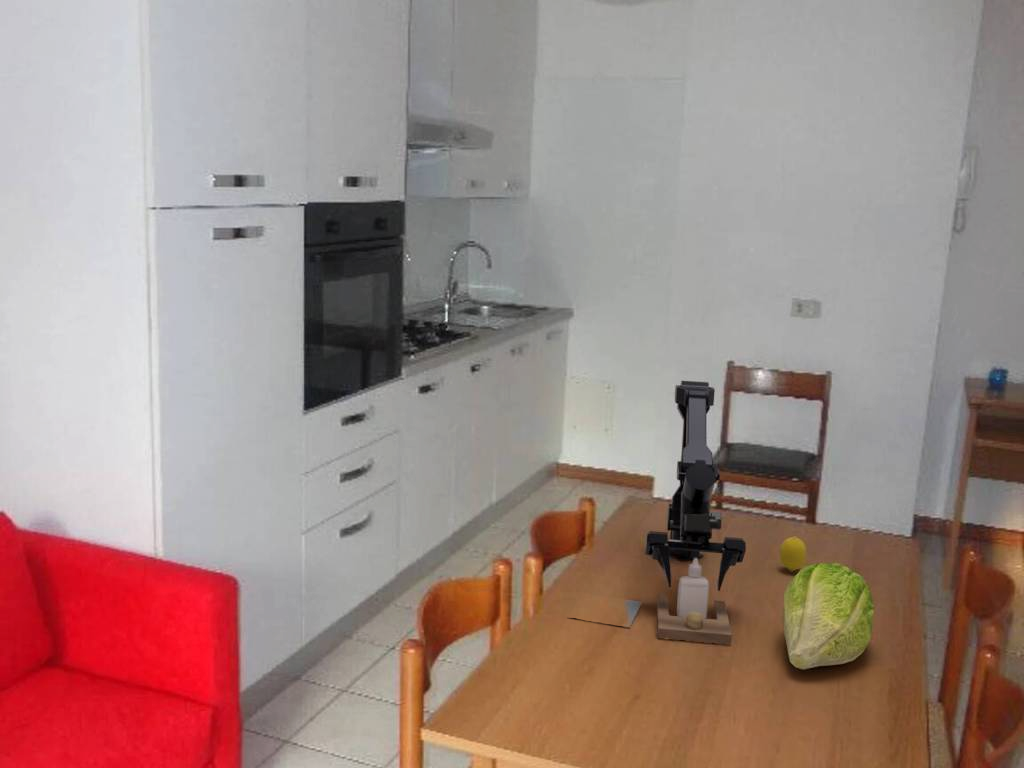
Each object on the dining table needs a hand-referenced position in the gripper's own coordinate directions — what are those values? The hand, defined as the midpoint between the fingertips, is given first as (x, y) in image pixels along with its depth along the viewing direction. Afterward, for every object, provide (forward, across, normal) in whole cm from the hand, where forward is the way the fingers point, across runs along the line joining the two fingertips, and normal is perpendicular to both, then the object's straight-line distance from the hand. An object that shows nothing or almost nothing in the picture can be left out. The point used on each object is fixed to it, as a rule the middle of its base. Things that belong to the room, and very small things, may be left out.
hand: (694, 588), depth 187 cm
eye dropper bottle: (+4, 0, +6) cm, 7 cm away
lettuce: (+11, +22, -1) cm, 25 cm away
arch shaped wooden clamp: (+6, 0, +3) cm, 7 cm away
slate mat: (+4, -16, +5) cm, 18 cm away
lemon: (-17, +23, +26) cm, 39 cm away
